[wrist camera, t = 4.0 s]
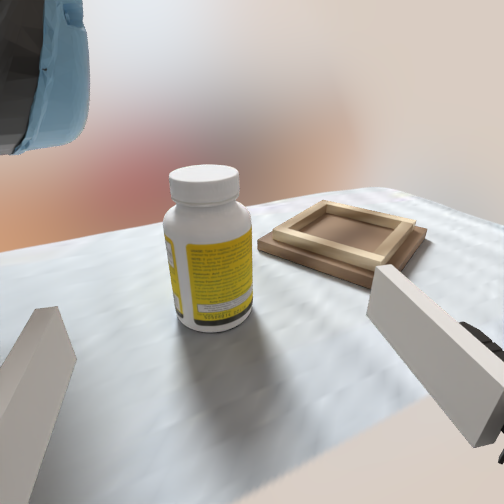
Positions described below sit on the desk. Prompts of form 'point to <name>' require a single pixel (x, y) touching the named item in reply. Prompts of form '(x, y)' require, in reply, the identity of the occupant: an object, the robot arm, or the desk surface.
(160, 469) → the desk surface
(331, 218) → the walnut board
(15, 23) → the robot arm
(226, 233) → the supplement bottle
